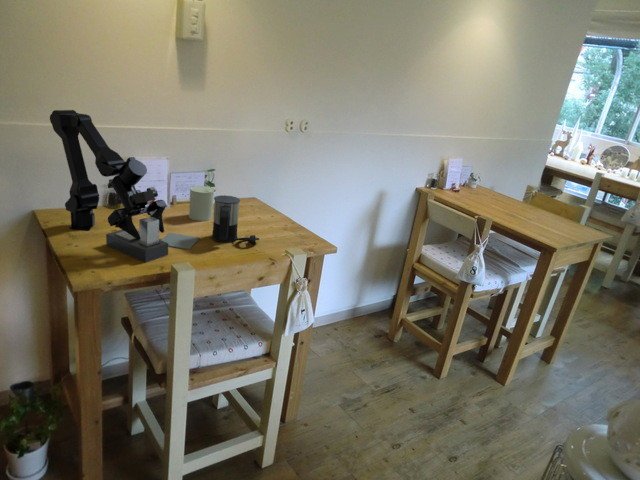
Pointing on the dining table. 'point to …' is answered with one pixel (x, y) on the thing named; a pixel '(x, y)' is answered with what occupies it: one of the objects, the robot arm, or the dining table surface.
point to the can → (201, 203)
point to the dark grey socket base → (135, 246)
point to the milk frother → (227, 219)
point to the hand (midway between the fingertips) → (151, 235)
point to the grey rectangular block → (149, 232)
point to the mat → (180, 240)
